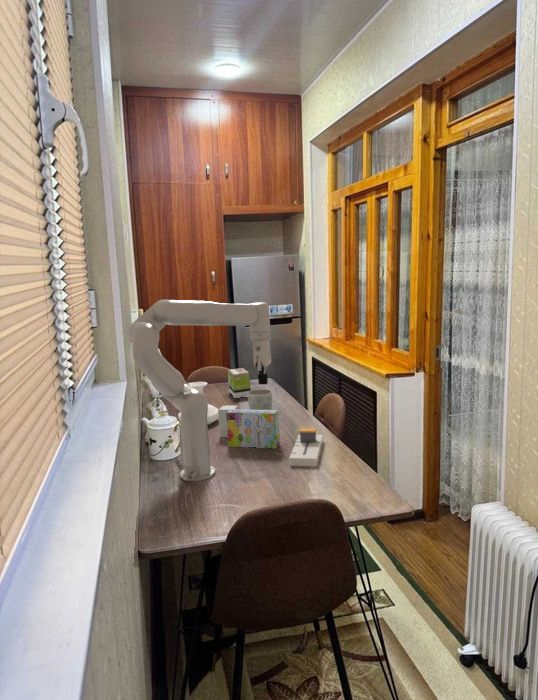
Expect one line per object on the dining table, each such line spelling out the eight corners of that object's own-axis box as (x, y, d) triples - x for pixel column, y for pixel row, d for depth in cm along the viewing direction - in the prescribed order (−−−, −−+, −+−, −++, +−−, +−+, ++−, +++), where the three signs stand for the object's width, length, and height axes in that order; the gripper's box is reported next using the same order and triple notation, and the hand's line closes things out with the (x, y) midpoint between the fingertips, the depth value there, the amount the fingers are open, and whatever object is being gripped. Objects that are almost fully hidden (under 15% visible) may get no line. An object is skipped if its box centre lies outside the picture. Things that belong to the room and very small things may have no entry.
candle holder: (181, 418, 250) (177, 381, 246) (220, 415, 251) (218, 378, 248) (176, 430, 230) (172, 390, 227) (219, 427, 231) (216, 387, 228)
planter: (276, 413, 248) (275, 392, 246) (253, 417, 243) (252, 396, 242) (267, 408, 259) (266, 387, 258) (245, 411, 255) (244, 391, 253)
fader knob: (315, 442, 195) (315, 431, 194) (300, 442, 196) (299, 430, 196) (316, 438, 199) (316, 428, 198) (301, 438, 200) (300, 427, 199)
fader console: (316, 466, 180) (316, 458, 179) (289, 465, 182) (289, 457, 181) (323, 441, 205) (322, 434, 204) (299, 441, 207) (298, 434, 206)
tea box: (228, 393, 295) (227, 369, 292) (245, 391, 298) (243, 367, 295) (234, 399, 281) (232, 373, 278) (251, 397, 284) (250, 371, 281)
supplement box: (235, 437, 216) (233, 409, 214) (219, 437, 217) (217, 409, 215) (240, 432, 223) (238, 405, 221) (224, 432, 224) (222, 405, 222)
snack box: (280, 444, 204) (278, 409, 202) (277, 449, 199) (275, 413, 197) (232, 442, 210) (229, 408, 208) (227, 447, 205) (225, 412, 202)
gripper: (266, 338, 176) (269, 388, 179) (273, 332, 190) (276, 379, 193) (245, 339, 177) (249, 388, 180) (255, 333, 192) (257, 379, 195)
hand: (263, 383), depth 187 cm, fingers closed
